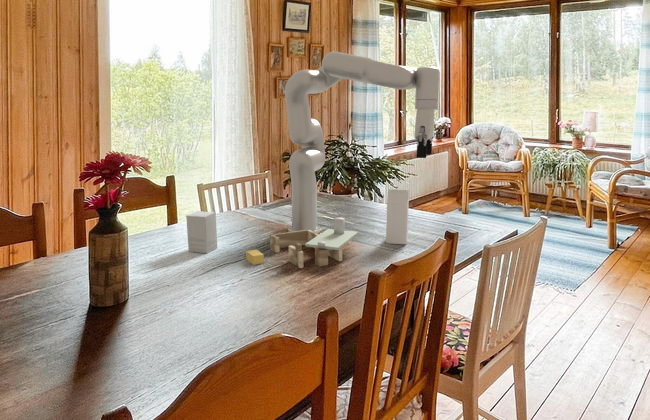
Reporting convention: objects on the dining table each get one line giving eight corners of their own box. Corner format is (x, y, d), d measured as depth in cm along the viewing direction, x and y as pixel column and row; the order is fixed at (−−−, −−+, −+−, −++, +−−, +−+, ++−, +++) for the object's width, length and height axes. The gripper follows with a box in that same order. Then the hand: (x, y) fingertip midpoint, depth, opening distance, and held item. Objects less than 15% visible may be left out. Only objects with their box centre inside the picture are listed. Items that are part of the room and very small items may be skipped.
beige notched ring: (270, 248, 188) (269, 228, 187) (309, 242, 195) (309, 223, 194) (302, 269, 167) (301, 247, 166) (344, 262, 174) (344, 240, 173)
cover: (328, 230, 191) (328, 214, 190) (358, 234, 187) (358, 217, 186) (303, 247, 172) (303, 229, 170) (336, 251, 168) (336, 232, 167)
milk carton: (406, 244, 193) (408, 191, 189) (385, 243, 195) (387, 190, 191) (407, 239, 200) (409, 188, 196) (387, 238, 202) (389, 187, 197)
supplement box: (218, 247, 190) (216, 212, 187) (206, 253, 183) (205, 216, 180) (199, 245, 192) (197, 210, 189) (187, 251, 185) (185, 215, 182)
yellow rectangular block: (246, 260, 177) (246, 251, 176) (256, 258, 179) (256, 249, 178) (253, 265, 172) (253, 256, 171) (263, 263, 174) (263, 254, 173)
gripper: (420, 104, 193) (418, 152, 197) (409, 105, 177) (407, 158, 181) (441, 104, 191) (439, 153, 194) (433, 106, 175) (430, 159, 179)
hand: (424, 156), depth 188 cm, fingers open, 9 cm apart
